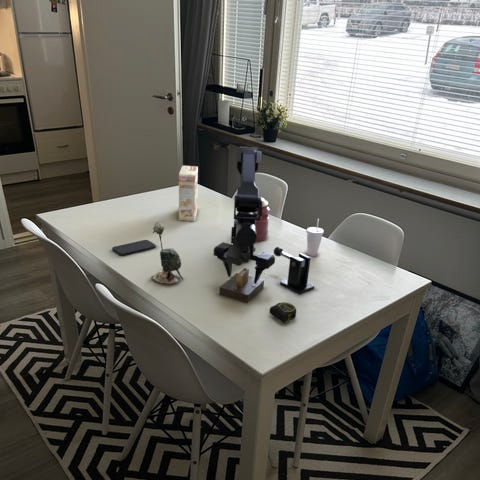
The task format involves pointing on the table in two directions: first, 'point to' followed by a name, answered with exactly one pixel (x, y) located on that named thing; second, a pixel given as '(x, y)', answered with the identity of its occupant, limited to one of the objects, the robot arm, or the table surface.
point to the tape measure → (283, 311)
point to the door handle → (286, 255)
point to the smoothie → (314, 239)
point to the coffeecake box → (188, 193)
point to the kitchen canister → (262, 222)
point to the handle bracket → (298, 275)
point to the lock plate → (241, 289)
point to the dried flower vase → (167, 262)
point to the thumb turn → (242, 277)
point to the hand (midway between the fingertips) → (242, 280)
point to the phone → (133, 247)
